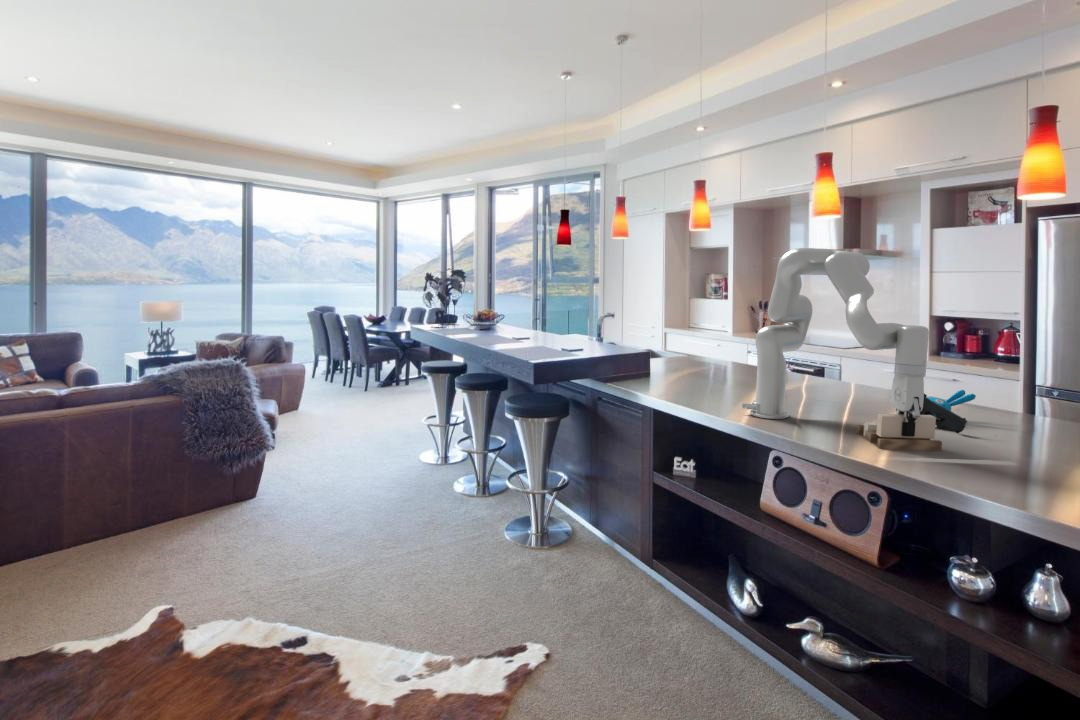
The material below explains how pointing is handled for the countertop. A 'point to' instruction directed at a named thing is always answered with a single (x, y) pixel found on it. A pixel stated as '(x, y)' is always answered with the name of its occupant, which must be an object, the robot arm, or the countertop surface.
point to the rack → (899, 441)
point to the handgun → (943, 416)
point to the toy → (957, 395)
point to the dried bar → (870, 427)
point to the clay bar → (893, 426)
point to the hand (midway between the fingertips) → (904, 433)
